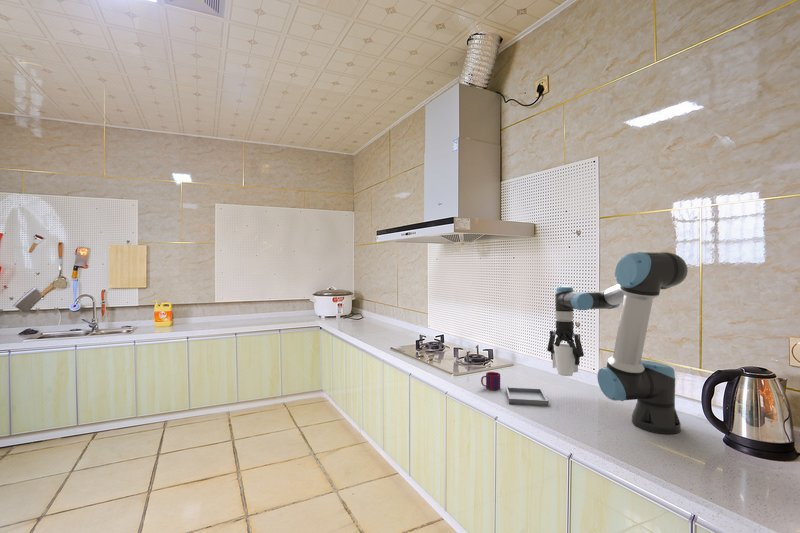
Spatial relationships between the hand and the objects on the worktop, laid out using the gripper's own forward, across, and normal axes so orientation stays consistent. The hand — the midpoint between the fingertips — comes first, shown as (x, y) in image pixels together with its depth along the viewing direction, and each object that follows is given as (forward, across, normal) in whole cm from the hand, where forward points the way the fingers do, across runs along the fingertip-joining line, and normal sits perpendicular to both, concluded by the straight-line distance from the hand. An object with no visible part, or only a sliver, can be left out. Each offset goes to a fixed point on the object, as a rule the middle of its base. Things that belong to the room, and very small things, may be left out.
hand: (565, 369), depth 177 cm
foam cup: (+2, 0, 0) cm, 2 cm away
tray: (+12, +8, +18) cm, 23 cm away
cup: (+12, +27, +20) cm, 35 cm away
